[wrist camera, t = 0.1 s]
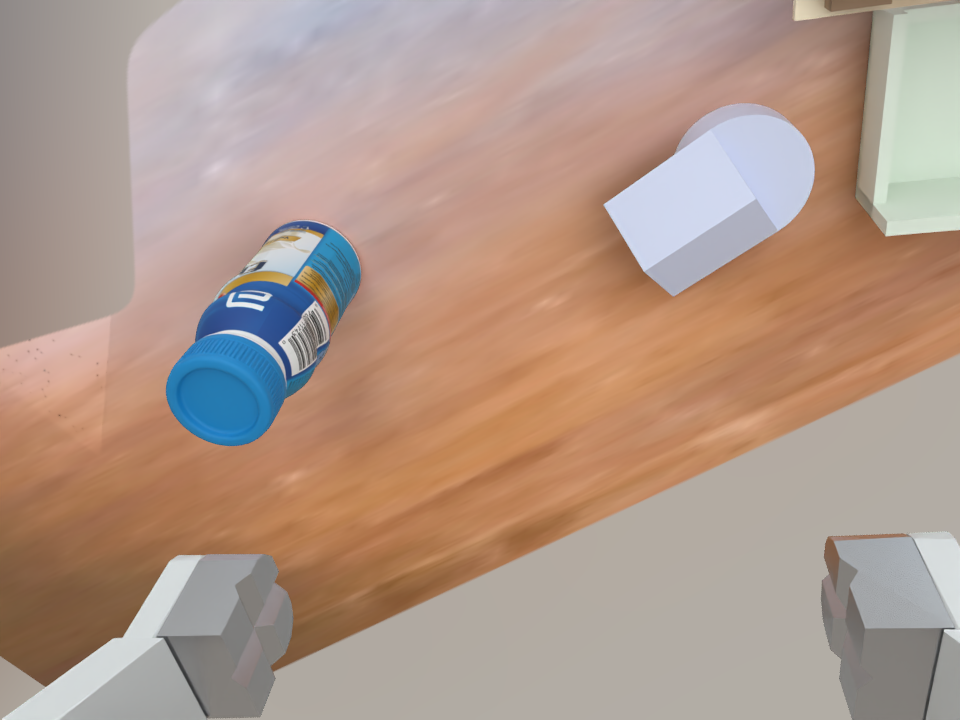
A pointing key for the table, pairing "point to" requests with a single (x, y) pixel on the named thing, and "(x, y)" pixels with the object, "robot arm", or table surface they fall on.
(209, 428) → the beverage bottle
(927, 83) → the tray
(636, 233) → the wedge on round base
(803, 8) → the lever
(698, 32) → the table surface
